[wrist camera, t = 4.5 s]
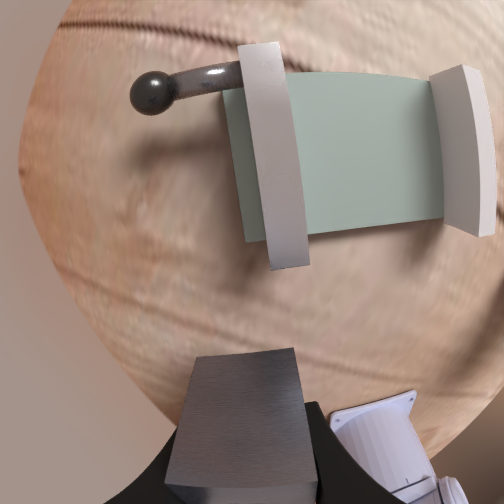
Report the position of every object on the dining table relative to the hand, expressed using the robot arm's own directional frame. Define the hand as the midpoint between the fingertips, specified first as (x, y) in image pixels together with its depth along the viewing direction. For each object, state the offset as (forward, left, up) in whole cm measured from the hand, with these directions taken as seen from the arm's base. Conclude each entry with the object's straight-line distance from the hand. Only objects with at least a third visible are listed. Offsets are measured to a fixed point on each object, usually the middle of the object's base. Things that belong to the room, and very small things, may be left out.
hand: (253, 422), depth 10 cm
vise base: (+10, -7, -7) cm, 14 cm away
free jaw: (+10, 0, -5) cm, 12 cm away
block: (0, 0, -2) cm, 2 cm away
